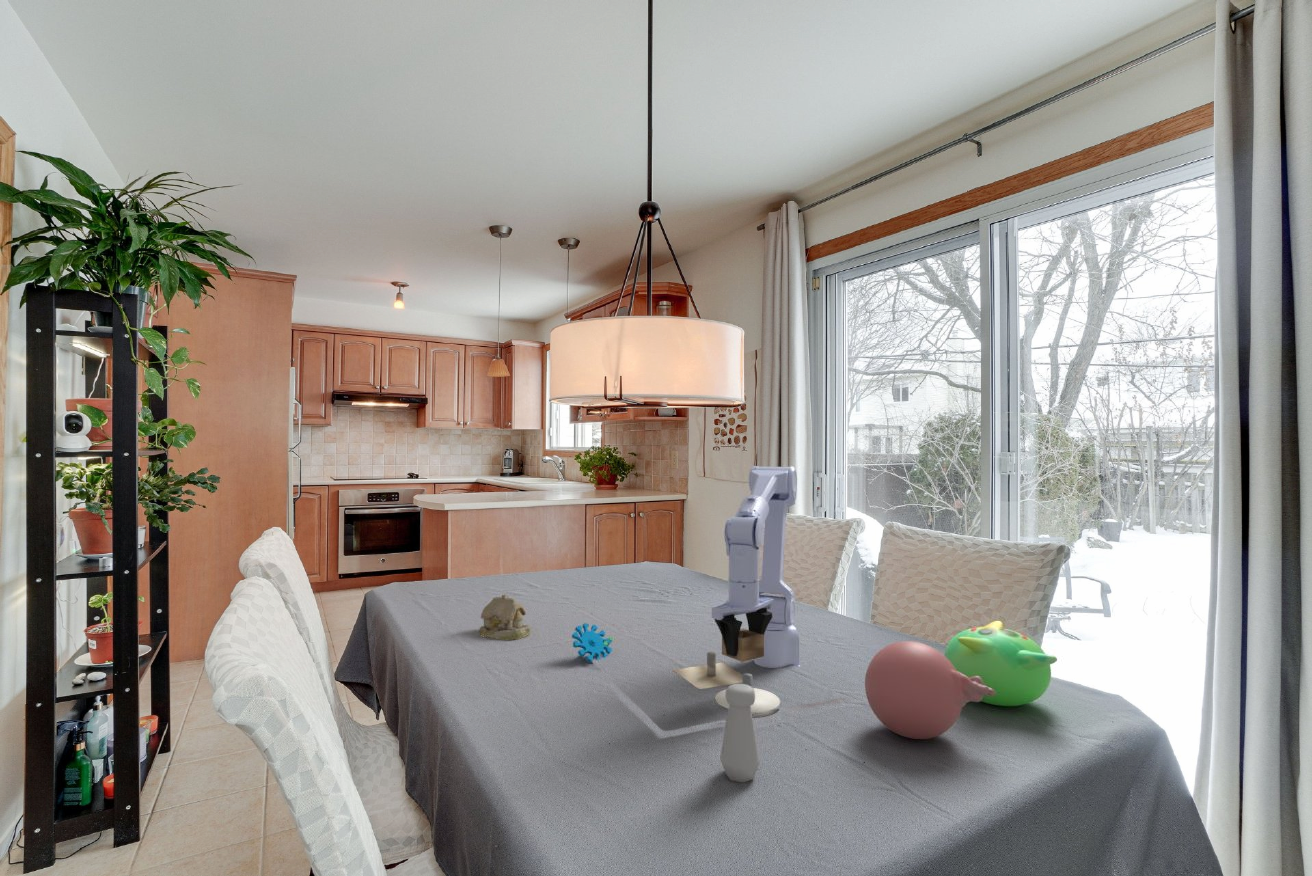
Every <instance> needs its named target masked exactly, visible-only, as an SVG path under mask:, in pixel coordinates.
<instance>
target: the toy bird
mask: <svg viewBox="0 0 1312 876" xmlns="http://www.w3.org/2000/svg"><path fill="white" fill-rule="evenodd" d="M1003 624H1004V623H1003V622H1002V621H1000V620H995V621H992V622H989V623H987V624H986V625H984V626H976V627H975V626H974V627H972V628H971V627H970V628H967V629H964V630H962V631H960V632H959V633H957V634H955V635H954V636H953V637H952V638H951V640H950V641H949V642H948V644H947V646H946V648H945V651H944V656H945V657H946V658H947V659H948V660H949V661H950V662H951V663H952V665H953V666H954V668H955V669H956V671H958V672H960V673H962V674H964V675H966V676H967V677H968V678H970V677H973V676H979V677H981V679H982V681H983V683H984V684H985V686H987V687H990V688H992V689H993V690H994V691H995V695H994V696H986V695H984V696H983V698H982V700H981V701H980V702H982V703H985V704H989V705H993V706H1000V707H1018V706H1023V705H1027V704H1030V703H1032V702H1034V701H1036V700H1038V699H1039V698H1041V697H1042V696H1043V695H1044V694H1045V692H1046V691H1047V690H1048V688H1049V686H1050V685H1051V684H1050V683H1051V678H1052V670H1051V665H1052V664H1055V663H1056V662H1058V658H1057V657H1056V656H1054V655H1052V654H1049V653H1046V652H1045V651H1044V650H1043V649H1042V648H1041V646H1040V645H1039V644H1038V643H1036V642H1035V641H1034V640H1033V639H1031V638H1030V637H1029V636H1026V635H1024V634H1022V633H1021V632H1017V631H1015V630H1012V629H1008V628H1005V627H1004V625H1003Z"/></svg>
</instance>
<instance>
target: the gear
mask: <svg viewBox="0 0 1312 876" xmlns="http://www.w3.org/2000/svg"><path fill="white" fill-rule="evenodd" d="M589 627H590V625H589V623H587V622H584V623H583V624H582V626H581V625H577V626H576V627H575V628H574V630H575V631H574V632H573V633H572V635H571V638H573V639H575V640H574V641H573V643H572V646H573V648H580V649H579V650H578V651H577V654H578V655H579V656H580V657H581V658H583V657H585V655H586V654H589V655H587V656H586V658H585V660H586V661H587V662H588V663H591V662H592V661H593V660H594V656H595V657H596V661H599V660H601V659H602V658H607V657H610V656H609V655H610V653H612V651H613V649H612V647H610V646H609V645H611V643H612V642H613V641H614V637H613V636H609V638H603V637H605V636H606V632H605V630H603V629H601V630H600V631H599V632H597V630H598V628H599V627H598V626H597V625H596V624H595V623H594V624H593V625H592V626H591V627H590V630H588V628H589ZM582 630H583V631H582ZM601 655H602V657H601ZM582 656H583V657H582Z"/></svg>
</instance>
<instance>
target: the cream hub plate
mask: <svg viewBox="0 0 1312 876" xmlns="http://www.w3.org/2000/svg"><path fill="white" fill-rule="evenodd" d="M742 675H743V682H742V684H746V685H749V686H751V687H752V688H753V689H754V691H755V701H754V704H753V705H751V713H752V718H753V719H757V718H758V719H759V718H767V717H770V716H773V715H774V714H777V713H778V712H779V711H780V708H777V707H779V706H780V704H781V700H780V698H779V697H778V696H777V695H775V694H774V693H772V692H770V691H768V690H765V689H761V688H755V687H753V674H751V673H742ZM714 698H715V702H716V703H717V704H718V705H719V706H721V707H724V708H725V709H728V710H729V703H727V701H726V689H723V690H721V691H719V692H718V693H717V694H716V695H715V697H714ZM776 708H777V709H776Z"/></svg>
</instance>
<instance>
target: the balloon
mask: <svg viewBox="0 0 1312 876" xmlns="http://www.w3.org/2000/svg"><path fill="white" fill-rule="evenodd" d="M864 678H865V679H864V688H865V689H864V691H865V695H866V699H867V702H868V705H869V706H870V709H871V710H872V712H873V714H874V715H875V716H876V718H877V719H878V720H879V721H880V723H882V724H883V725H884V726H885V727H886V728H888V730H890V731H891V732H893V733H895V734H897V735H899V736H902V737H905V738H908V739H914V740H927V739H933V738H937V737H938V736H941V735H944V733H946V732H948V731H949V729H951V728H952V727H953V726H954V725H955V723H956V722H957V721H958V719H959V716H960V715H961V712H962V710H963V707H965V706H966V704H967V703H969V702H973V703H980V702H982V701H981V700H982V698H983V696H984V695H986V696H994V695H995V691H994V690H993V689H992V688H990V687H987V686H985V684H984V683H983V681H982V679H981V677H979V676H973V677H970V678H968V677H967V676H966V675H964V674H962V673H960V672H958V671H956V669H955V668H954V666H953V665H952V663H951V662H950V661H949V660H948V659H947V658H946V657H945V654H943V653H942V652H940V651H939V650H937V649H936V648H934V647H932V646H930V645H929V644H925V643H922V642H918V641H911V640H910V641H909V640H905V641H904V640H903V641H898V642H894V643H890V644H888V645H885V647H883V648H882V649H880V650H879V651H878V652H877V653H876V654H875V655H874V656H873V658H872V659H871V661H870V662H869V664H868V666H867V669H866V673H865V677H864Z"/></svg>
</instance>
